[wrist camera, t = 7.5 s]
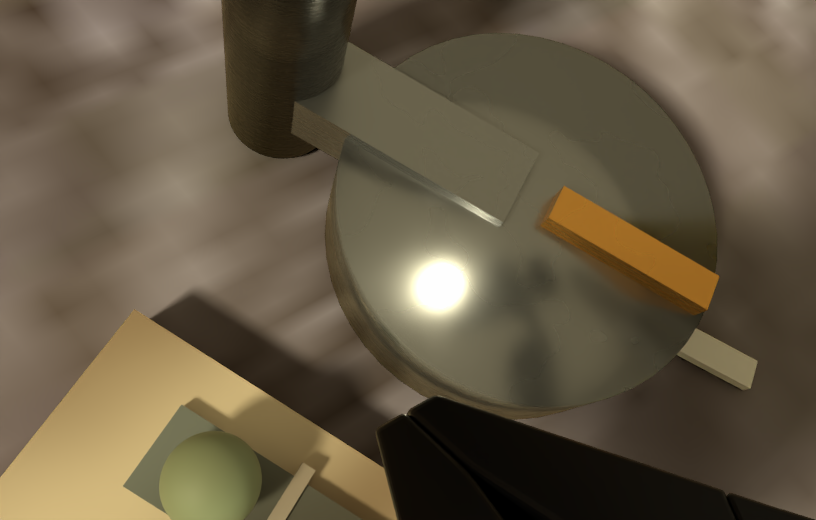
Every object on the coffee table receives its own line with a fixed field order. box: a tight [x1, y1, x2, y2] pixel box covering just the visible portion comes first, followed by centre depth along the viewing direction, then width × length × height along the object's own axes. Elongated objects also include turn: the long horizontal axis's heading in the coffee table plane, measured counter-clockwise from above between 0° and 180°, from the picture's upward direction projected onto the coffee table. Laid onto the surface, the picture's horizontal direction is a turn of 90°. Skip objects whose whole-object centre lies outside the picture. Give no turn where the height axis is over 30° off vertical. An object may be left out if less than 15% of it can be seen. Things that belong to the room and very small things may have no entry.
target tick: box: [677, 328, 758, 390], centre depth 18 cm, size 2×1×1 cm, turn 64°
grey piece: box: [221, 0, 719, 420], centre depth 13 cm, size 12×9×12 cm
